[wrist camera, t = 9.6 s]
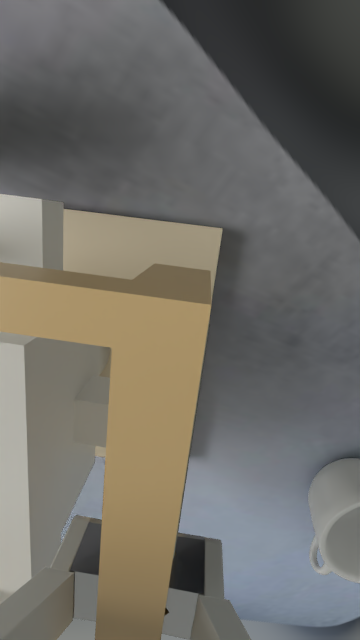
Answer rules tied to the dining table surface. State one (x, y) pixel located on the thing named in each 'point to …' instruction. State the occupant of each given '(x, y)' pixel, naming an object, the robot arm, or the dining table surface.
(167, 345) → the tan open angular frame
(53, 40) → the dining table surface
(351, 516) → the teacup
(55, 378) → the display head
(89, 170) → the dining table surface
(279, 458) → the dining table surface
